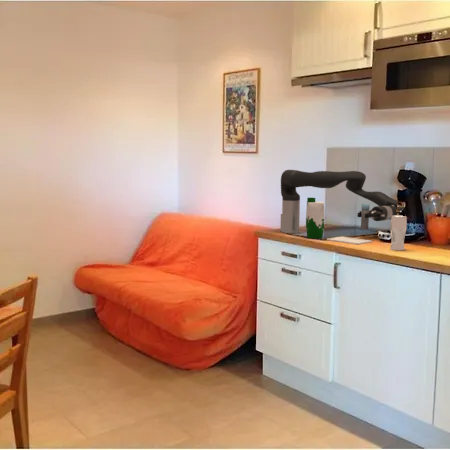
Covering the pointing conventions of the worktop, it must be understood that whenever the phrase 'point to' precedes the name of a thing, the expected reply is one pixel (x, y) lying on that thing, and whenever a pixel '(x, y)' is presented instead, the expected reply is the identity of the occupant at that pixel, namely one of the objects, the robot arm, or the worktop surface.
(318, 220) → the milk carton
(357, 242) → the pad
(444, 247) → the worktop surface
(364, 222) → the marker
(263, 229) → the worktop surface
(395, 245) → the beer glass
